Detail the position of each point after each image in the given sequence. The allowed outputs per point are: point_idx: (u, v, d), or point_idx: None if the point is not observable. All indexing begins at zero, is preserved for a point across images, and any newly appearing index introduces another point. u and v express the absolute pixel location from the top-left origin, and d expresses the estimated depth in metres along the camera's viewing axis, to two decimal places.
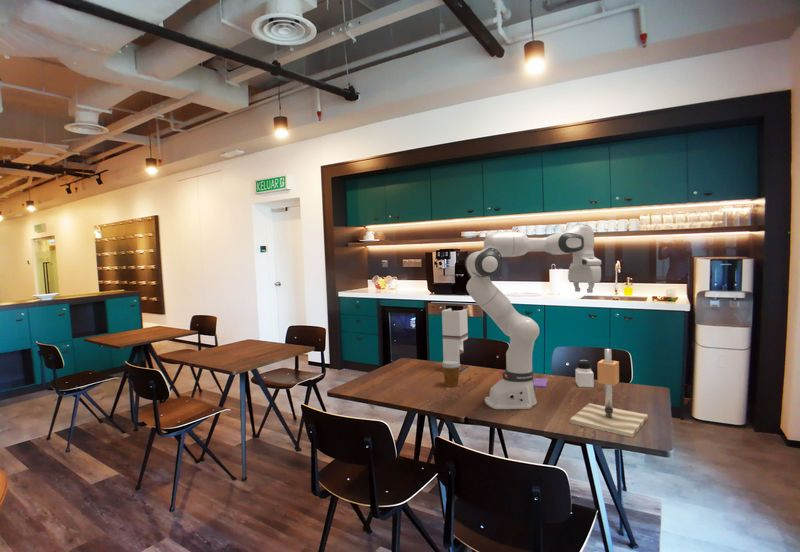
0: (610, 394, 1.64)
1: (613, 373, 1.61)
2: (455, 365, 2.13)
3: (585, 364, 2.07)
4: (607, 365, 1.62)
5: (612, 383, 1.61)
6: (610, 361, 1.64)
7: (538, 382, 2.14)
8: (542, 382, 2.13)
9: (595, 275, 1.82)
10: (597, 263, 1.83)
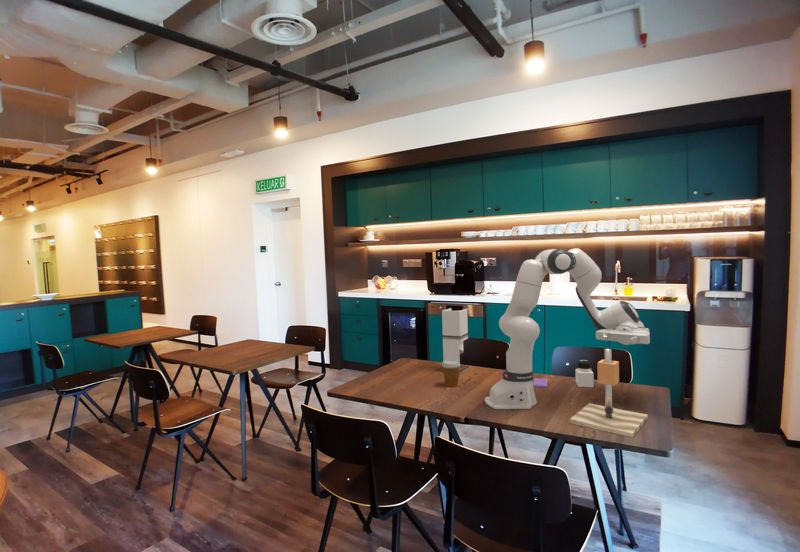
0: (610, 394, 1.64)
1: (613, 373, 1.61)
2: (455, 365, 2.13)
3: (585, 364, 2.07)
4: (607, 365, 1.62)
5: (612, 383, 1.61)
6: (610, 361, 1.64)
7: (538, 382, 2.14)
8: (542, 382, 2.13)
9: (649, 337, 1.73)
10: None
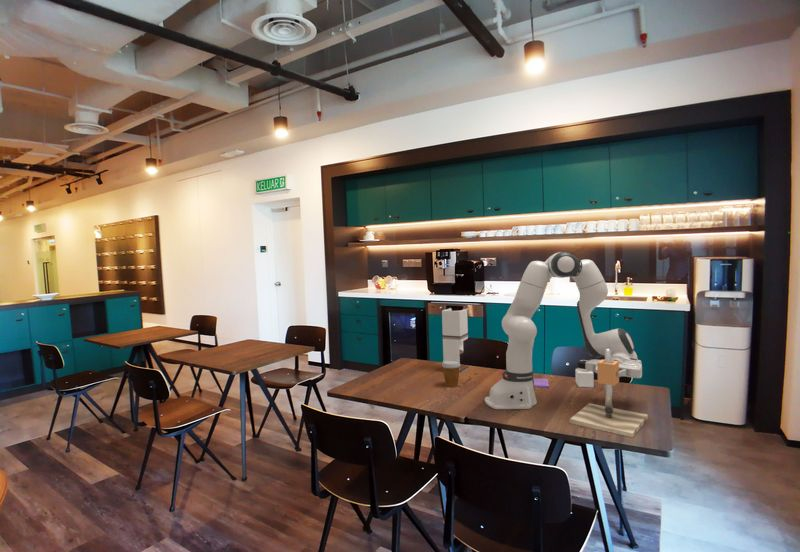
0: (610, 394, 1.64)
1: (613, 373, 1.61)
2: (455, 365, 2.13)
3: None
4: (607, 365, 1.62)
5: (612, 383, 1.61)
6: (610, 361, 1.64)
7: (540, 382, 2.13)
8: (544, 382, 2.13)
9: (641, 370, 1.63)
10: None
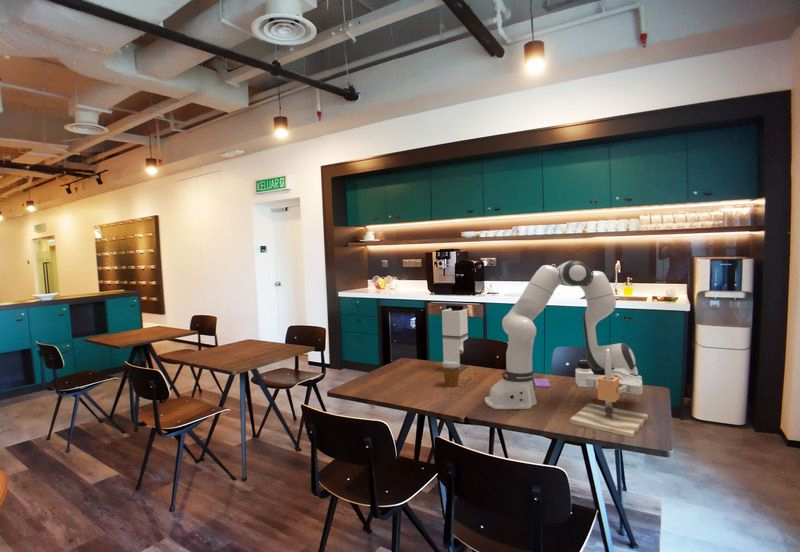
0: None
1: (613, 390, 1.61)
2: (455, 365, 2.13)
3: (585, 364, 2.07)
4: (607, 381, 1.62)
5: (612, 399, 1.62)
6: (610, 361, 1.64)
7: (540, 382, 2.13)
8: (544, 382, 2.13)
9: (641, 387, 1.64)
10: None
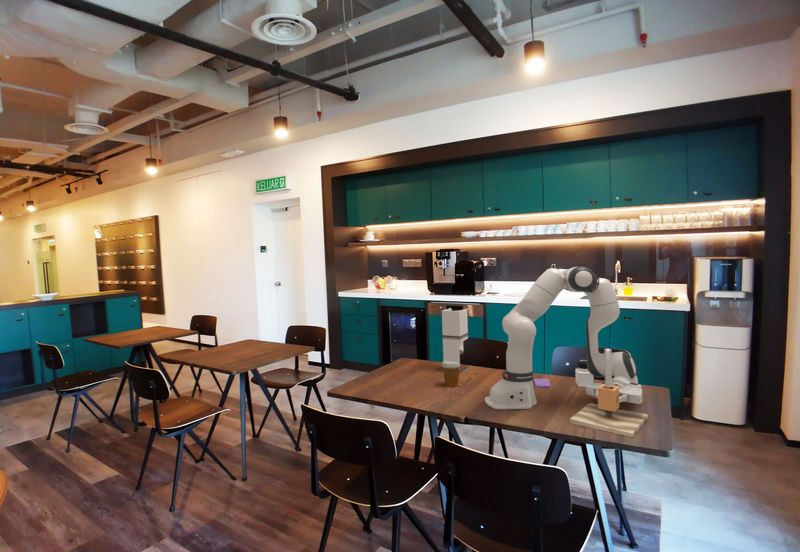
0: None
1: (613, 399, 1.61)
2: (455, 365, 2.13)
3: (585, 364, 2.07)
4: (607, 391, 1.63)
5: (612, 409, 1.62)
6: (610, 361, 1.64)
7: (541, 382, 2.13)
8: (545, 382, 2.13)
9: (641, 396, 1.64)
10: None
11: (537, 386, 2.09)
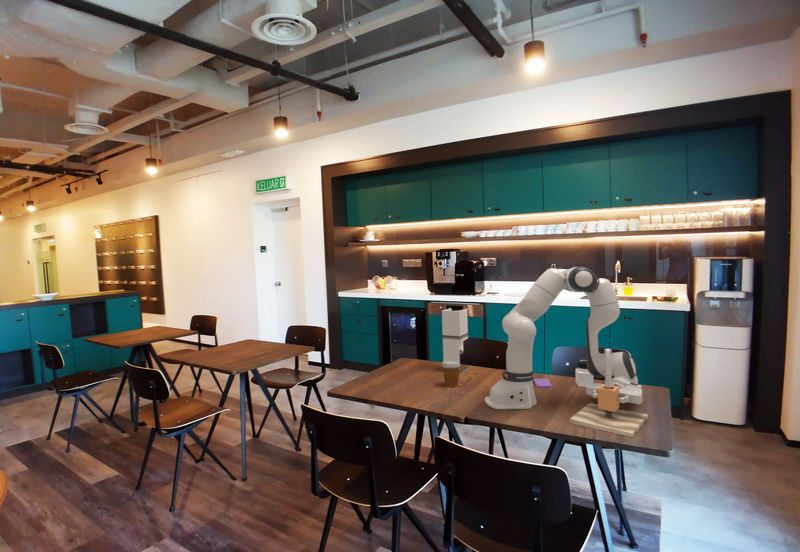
0: None
1: (613, 399, 1.61)
2: (455, 365, 2.13)
3: (585, 364, 2.07)
4: (607, 391, 1.63)
5: (612, 409, 1.62)
6: (610, 361, 1.64)
7: (541, 382, 2.13)
8: (545, 382, 2.13)
9: (641, 396, 1.64)
10: None
11: (538, 386, 2.08)
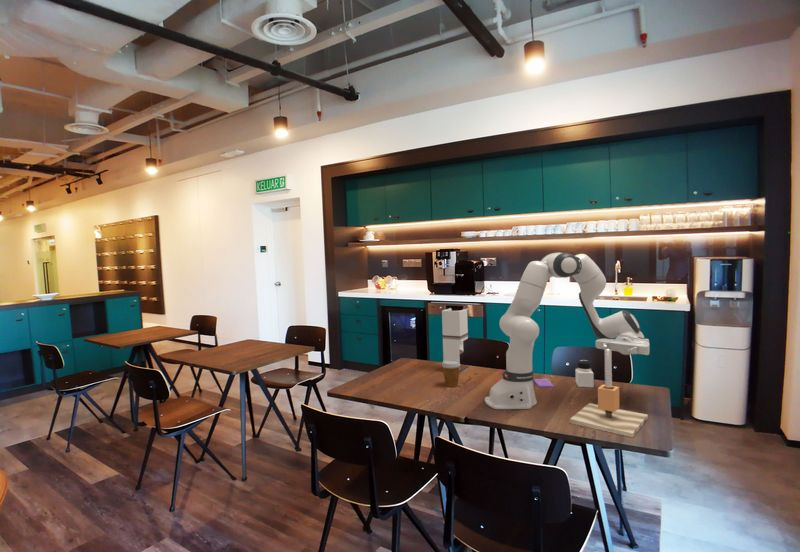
0: None
1: (613, 399, 1.61)
2: (455, 365, 2.13)
3: (585, 364, 2.07)
4: (607, 391, 1.63)
5: (612, 409, 1.62)
6: (610, 361, 1.64)
7: (542, 382, 2.13)
8: (546, 382, 2.13)
9: (649, 348, 1.73)
10: None
11: (540, 386, 2.08)
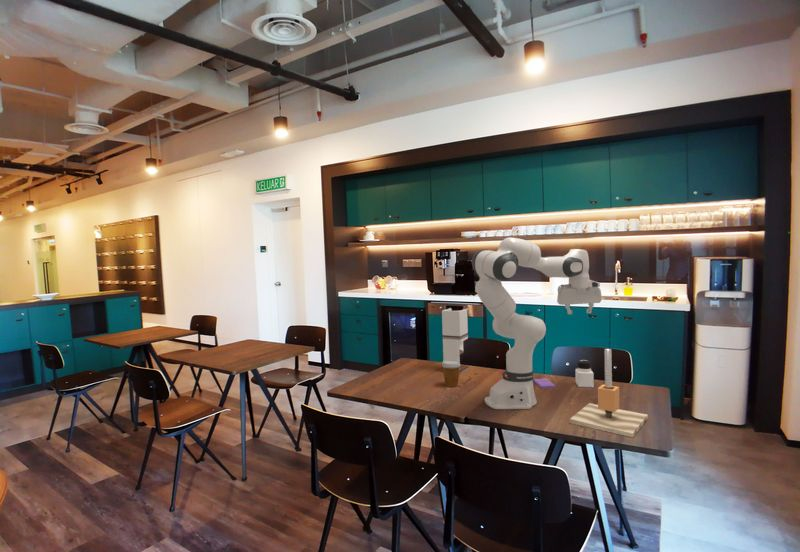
0: None
1: (613, 399, 1.61)
2: (455, 365, 2.13)
3: (585, 364, 2.07)
4: (607, 391, 1.63)
5: (612, 409, 1.62)
6: (610, 361, 1.64)
7: (543, 382, 2.13)
8: (547, 382, 2.13)
9: None
10: None
11: (542, 386, 2.08)
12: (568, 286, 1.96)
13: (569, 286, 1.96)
